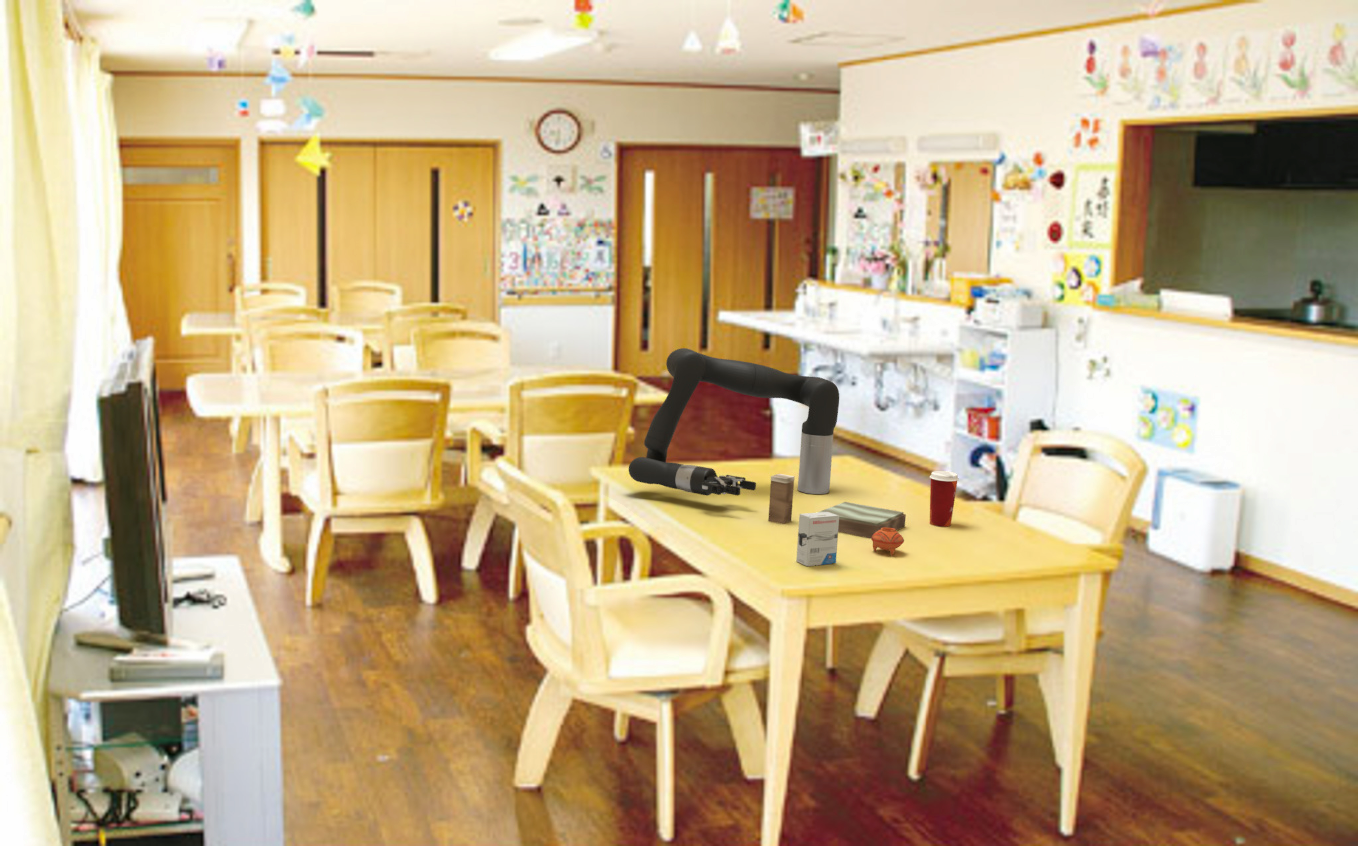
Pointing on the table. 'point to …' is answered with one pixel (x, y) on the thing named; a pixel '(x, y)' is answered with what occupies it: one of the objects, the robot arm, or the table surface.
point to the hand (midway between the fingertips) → (747, 488)
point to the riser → (865, 519)
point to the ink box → (817, 538)
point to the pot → (887, 539)
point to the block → (781, 498)
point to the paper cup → (942, 497)
